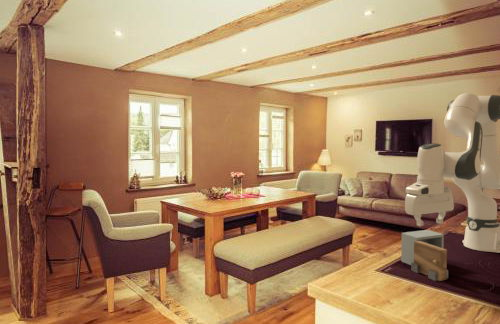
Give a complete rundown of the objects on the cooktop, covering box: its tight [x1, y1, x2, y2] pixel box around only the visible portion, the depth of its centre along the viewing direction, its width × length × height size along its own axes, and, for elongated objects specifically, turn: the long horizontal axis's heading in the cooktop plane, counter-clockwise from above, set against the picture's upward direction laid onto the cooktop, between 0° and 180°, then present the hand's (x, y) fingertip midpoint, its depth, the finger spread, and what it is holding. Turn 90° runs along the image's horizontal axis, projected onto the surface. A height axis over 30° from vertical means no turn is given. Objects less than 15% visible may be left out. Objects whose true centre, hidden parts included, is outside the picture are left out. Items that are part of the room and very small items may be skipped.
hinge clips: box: [410, 263, 449, 282], centre depth 128 cm, size 6×11×3 cm, turn 19°
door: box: [414, 241, 448, 282], centre depth 128 cm, size 4×12×11 cm, turn 19°
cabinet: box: [400, 229, 445, 266], centre depth 141 cm, size 14×8×12 cm, turn 109°
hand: (429, 224), depth 127 cm, fingers open, 8 cm apart
